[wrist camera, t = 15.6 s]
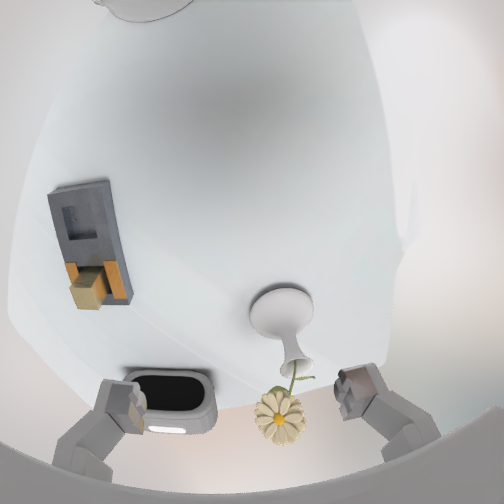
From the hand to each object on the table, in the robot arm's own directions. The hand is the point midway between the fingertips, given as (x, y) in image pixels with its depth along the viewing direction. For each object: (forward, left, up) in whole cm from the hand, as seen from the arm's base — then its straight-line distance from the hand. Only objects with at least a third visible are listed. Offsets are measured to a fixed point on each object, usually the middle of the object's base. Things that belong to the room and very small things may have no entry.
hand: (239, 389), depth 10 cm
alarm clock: (+43, -15, -31) cm, 55 cm away
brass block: (+13, -22, -30) cm, 39 cm away
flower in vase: (+23, +8, -31) cm, 40 cm away
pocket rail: (+8, -22, -31) cm, 39 cm away
